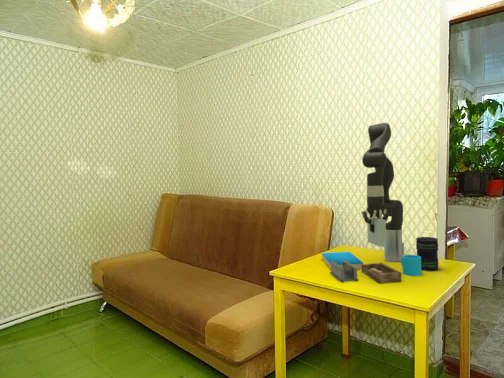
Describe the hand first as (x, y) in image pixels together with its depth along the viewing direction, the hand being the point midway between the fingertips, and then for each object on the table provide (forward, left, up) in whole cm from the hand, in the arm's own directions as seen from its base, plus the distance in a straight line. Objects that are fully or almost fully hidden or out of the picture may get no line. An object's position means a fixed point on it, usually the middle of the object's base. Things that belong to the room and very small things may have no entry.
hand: (376, 231), depth 165 cm
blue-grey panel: (0, 0, -6) cm, 6 cm away
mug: (-18, -3, -22) cm, 28 cm away
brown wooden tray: (-1, 0, -21) cm, 21 cm away
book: (+7, -27, -22) cm, 35 cm away
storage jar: (-30, -7, -22) cm, 37 cm away
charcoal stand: (+15, -4, -21) cm, 26 cm away
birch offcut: (+1, +1, -20) cm, 20 cm away
